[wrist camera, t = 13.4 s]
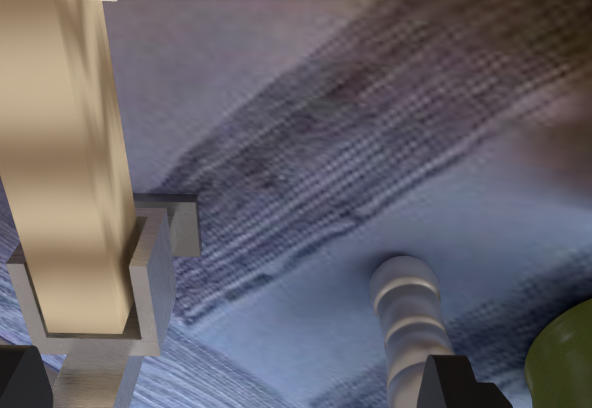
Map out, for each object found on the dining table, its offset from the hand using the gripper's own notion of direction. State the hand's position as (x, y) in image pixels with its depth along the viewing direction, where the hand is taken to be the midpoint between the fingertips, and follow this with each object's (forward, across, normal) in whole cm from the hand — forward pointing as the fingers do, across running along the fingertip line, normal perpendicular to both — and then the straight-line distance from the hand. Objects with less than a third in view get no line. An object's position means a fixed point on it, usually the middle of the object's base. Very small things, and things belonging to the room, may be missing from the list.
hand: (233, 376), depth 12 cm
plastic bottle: (+34, -12, +26) cm, 45 cm away
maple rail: (+22, +11, +4) cm, 25 cm away
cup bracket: (+34, +11, +18) cm, 40 cm away
